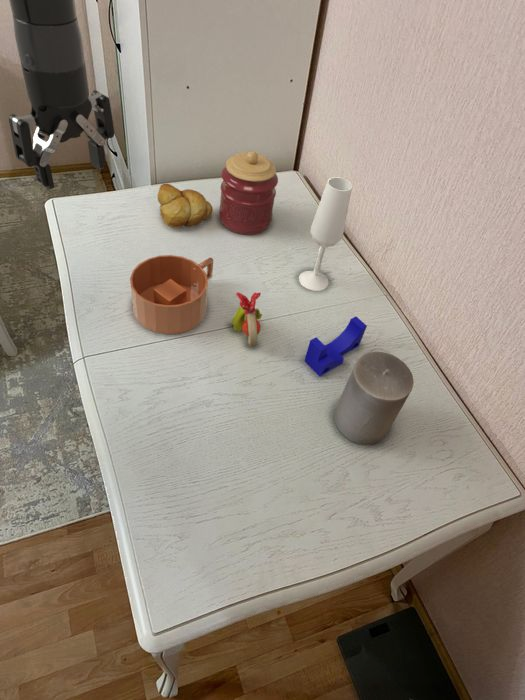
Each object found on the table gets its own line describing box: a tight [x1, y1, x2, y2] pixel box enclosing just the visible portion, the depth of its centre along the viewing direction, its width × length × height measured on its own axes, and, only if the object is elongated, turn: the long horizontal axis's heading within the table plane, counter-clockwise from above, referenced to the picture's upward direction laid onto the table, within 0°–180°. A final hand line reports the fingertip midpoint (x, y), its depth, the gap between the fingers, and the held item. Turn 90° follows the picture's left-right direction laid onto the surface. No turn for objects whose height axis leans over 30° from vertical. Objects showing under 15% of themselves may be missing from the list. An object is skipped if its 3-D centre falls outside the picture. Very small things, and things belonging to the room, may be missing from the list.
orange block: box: [153, 279, 187, 305], centre depth 99 cm, size 4×4×4 cm
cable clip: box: [303, 315, 368, 377], centre depth 96 cm, size 12×4×6 cm, turn 128°
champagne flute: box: [298, 176, 353, 292], centre depth 103 cm, size 7×7×24 cm
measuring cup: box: [129, 254, 214, 335], centre depth 99 cm, size 19×14×8 cm
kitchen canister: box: [218, 150, 279, 236], centre depth 117 cm, size 13×13×18 cm
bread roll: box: [157, 183, 214, 228], centre depth 117 cm, size 13×10×8 cm
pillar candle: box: [333, 350, 415, 446], centre depth 83 cm, size 10×10×15 cm
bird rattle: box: [230, 292, 263, 347], centre depth 95 cm, size 6×11×9 cm
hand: (73, 176), depth 74 cm, fingers open, 8 cm apart
